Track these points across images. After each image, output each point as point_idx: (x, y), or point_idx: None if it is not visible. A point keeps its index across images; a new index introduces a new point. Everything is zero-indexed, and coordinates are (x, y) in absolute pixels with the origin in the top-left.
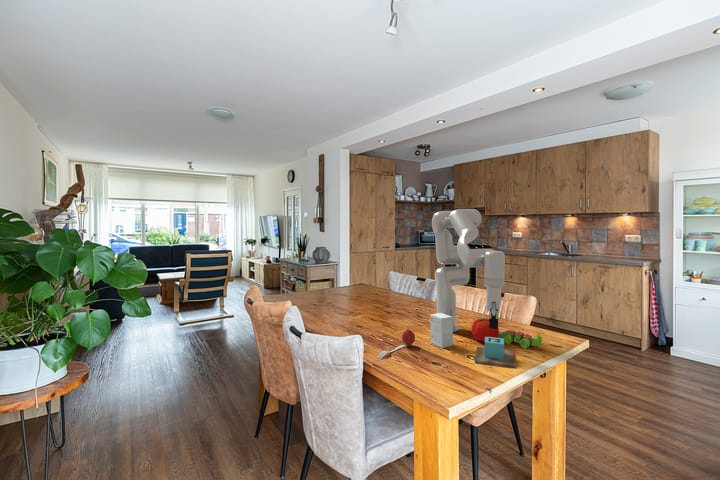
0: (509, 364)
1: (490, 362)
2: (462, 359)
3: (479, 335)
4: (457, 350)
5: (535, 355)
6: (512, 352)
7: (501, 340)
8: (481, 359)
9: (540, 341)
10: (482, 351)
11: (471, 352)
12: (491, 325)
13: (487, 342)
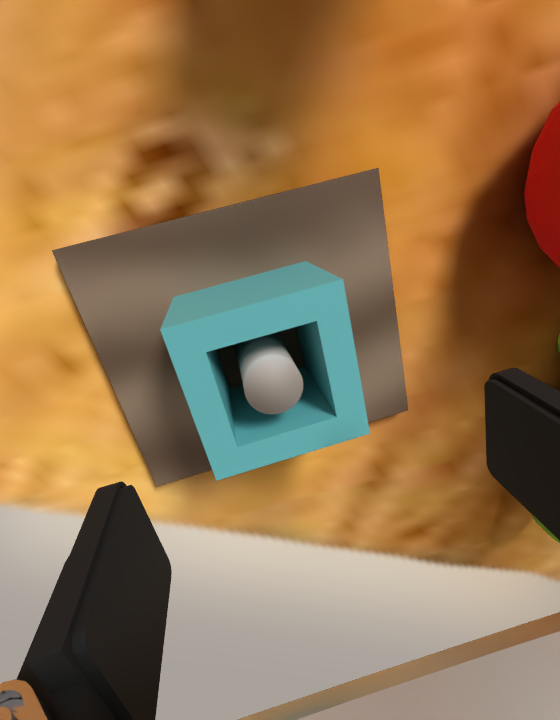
0: (149, 462)
1: (101, 360)
2: (61, 130)
3: (550, 143)
4: (249, 6)
5: (413, 501)
6: (371, 418)
7: (305, 436)
8: (111, 290)
9: (548, 530)
10: (287, 244)
11: (270, 152)
12: (64, 566)
13: (170, 355)
